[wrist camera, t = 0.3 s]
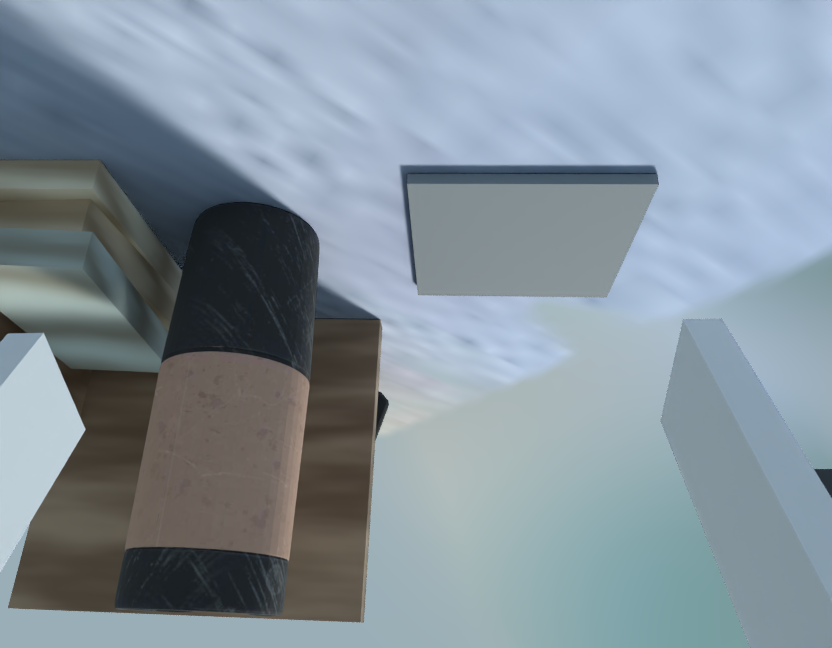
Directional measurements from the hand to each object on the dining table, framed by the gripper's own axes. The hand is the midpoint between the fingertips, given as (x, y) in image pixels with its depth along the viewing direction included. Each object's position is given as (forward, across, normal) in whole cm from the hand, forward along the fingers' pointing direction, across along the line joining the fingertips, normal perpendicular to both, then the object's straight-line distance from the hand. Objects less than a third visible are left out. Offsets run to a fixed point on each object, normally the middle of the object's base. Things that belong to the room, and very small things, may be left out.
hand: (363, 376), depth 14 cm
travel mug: (+24, -9, -9) cm, 27 cm away
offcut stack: (+25, -18, -9) cm, 32 cm away
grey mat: (+23, +6, -9) cm, 26 cm away
